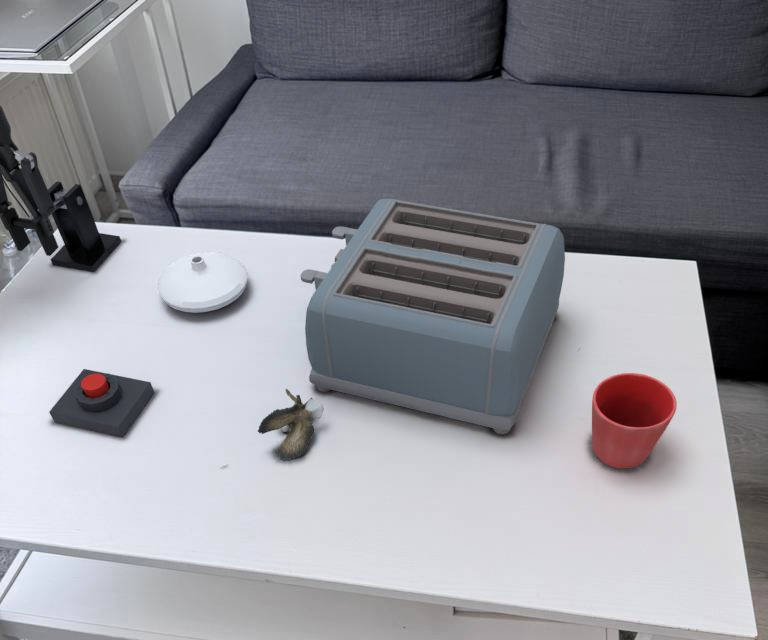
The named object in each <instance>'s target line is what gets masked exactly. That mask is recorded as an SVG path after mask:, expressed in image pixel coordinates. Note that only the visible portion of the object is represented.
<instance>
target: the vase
mask: <svg viewBox="0 0 768 640" xmlns="http://www.w3.org/2000/svg"><path fill="white" fill-rule="evenodd" d="M247 284H248V270H247V268H246V266H245V265H244V264H243V262H241V261H240V260H239V259H237V258H235V257H233V256H232V255H230V254H228V253H223V252H217V251H205V252H204V251H203V252H196V253H192V254H188V255H186V256H183V257H181V258H178V259H176V260H175V261H174V262H172V263H170V264H169V266H167V267H166V268H165V269H164V270H163V271H162V274H161V275H160V276H159V278H158V281H157V286H156V288H157V292H158V295H159V296H160V297H161V299H162V300H163V301H164V302H165V303H166V305H168V307H171V308H172V309H174V310H177V311H180V312H185V313H193V314H194V313H195V314H196V313H197V314H198V313H206V312H211V311H215V310H219V309H221V308H223V307H226V306H228V305H230V304H232V303H233V302H235V301H236V300H238V298H239V297H240V296H241V295H242V294H243V293H244V291H245V289H246V287H247Z"/></svg>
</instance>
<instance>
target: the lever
mask: <svg viewBox="0 0 768 640" xmlns="http://www.w3.org/2000/svg"><path fill="white" fill-rule="evenodd" d="M70 189H71V188H70ZM70 189H69V188H64V189H61V190H60V191H58V192H57V193H55V194H54V197H55V201H53V203H54V206H55V208H56V210H57V209H59V208H63V209H67V207H66V205H65V202H64V200H63V196H64V195H65V194H66V193H67V192H68V191H69V190H70ZM56 210H55V211H56ZM32 219H33V216H32V215H31V214H30V215H29V216H27V217H26V218H25V217H12V219H11V224H12V225H13V226H14V227H20V228H24V229H27V230H33V231H35V229H34V227H33V225H32V222H31V220H32Z"/></svg>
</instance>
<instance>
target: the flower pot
mask: <svg viewBox="0 0 768 640" xmlns="http://www.w3.org/2000/svg"><path fill="white" fill-rule="evenodd" d="M676 411H677V398H676V396H675V394H674V392H673V390H671V389H670V387H669V386H668V385H666V384H665V383H664V382H662V381H661V380H659V379H657V378H655V377H653V376H650V375H647V374H643V373H635V372H624V373H618V374H614V375H612V376H611V375H610V376H609V377H606V378H604V379H603V380H602V381H601V382H599V384H597V386H596V387H595V389H594V391H593V393H592V400H591V441H592V450H593V453H594V455H595V456H596V457H597V459H598V460H599V461H600V462H601V463H603V464H605V465H607V466H609V467H612V468H616V469H632V468H636V467H638V466H640V465H642V464H643V463H644V462H645V461H646V460H647V459H648V457H649V455H650V454H651V453H652V451H653V450H654V449H655V446H656V445H657V444H658V442H659V441H660V439H661V437H663V434H664V433H665V431H666V429H667V428H668V426H669V425H670V423H671V422H672V419H673V418H674V416H675V414H676Z"/></svg>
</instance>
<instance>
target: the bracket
mask: <svg viewBox="0 0 768 640" xmlns="http://www.w3.org/2000/svg"><path fill="white" fill-rule="evenodd" d="M47 189H48V192H49V194H50V196H51V199H52V201H55V197H54V194H55V193H57V192H58V191H60V190H61V189H65V188H64V186H63V183H62V182H61V181H55V182H54V183H53V184H52V185H51V186H49V188H47ZM63 200H64V202H65V205H66V207H67V209H63V208H59V209H57V210H56V211H54V212H53V213H52V214H51V217H52V219H53V221H54V223H55V225H56V228H57V231H58V233H59V235H60V237H61V240H62V242H63V244H64V245H63V246H62V247H61V248H60V249H59V250H58V251H57V252H56V253H55V254H54V255H53V256H52V257H51V258H50V261H51V264H52V266H57V267H64V268H70V269H75V270H80V271H81V270H82V271H88V272H93V273H95V272H96V271H97V270H98V269H99V268H100V267H101V265H102V264H104V262H105V261H106V260H107V259H108V257H109V256H110V255H111V254H112V253H113V252H114V251H115V249H116V248H117V247H118V246H119V245H120V244H121V243H122V240H121V237H120V236H119V235H115V234H108V233H101V232H99V230H98V227H97V226H98V225H97V224H96V221H95V219H94V216H93V213H92V211H91V209H90V206H89V203H88V201H87V198H86V196H85V193H84V190H83V187H82V185H81V184H78V183H75V184H74V185H73V186H72V187H71V188H70V190H69V191H68V192H67V193H66V194H65V195H64V196H63Z"/></svg>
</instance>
